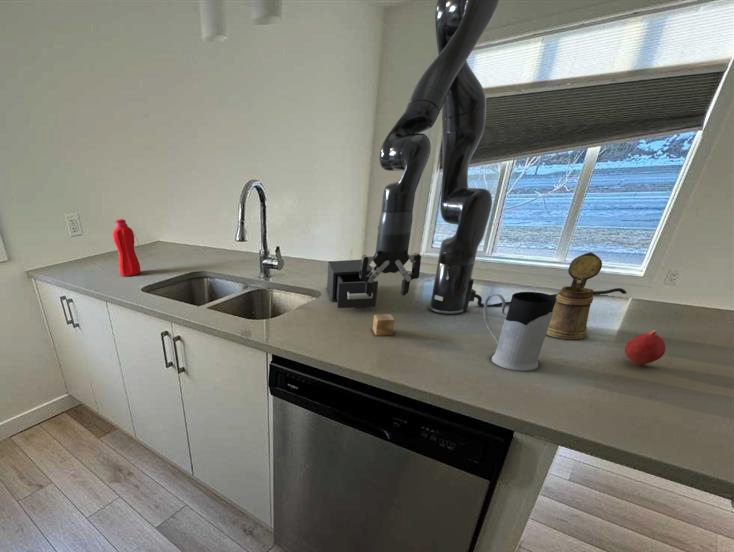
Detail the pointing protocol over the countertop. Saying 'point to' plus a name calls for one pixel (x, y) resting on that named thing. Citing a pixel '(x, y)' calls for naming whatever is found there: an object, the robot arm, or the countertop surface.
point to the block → (383, 324)
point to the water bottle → (126, 249)
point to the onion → (645, 348)
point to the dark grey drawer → (354, 292)
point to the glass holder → (522, 329)
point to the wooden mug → (575, 300)
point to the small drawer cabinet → (342, 273)
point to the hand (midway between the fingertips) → (386, 295)
